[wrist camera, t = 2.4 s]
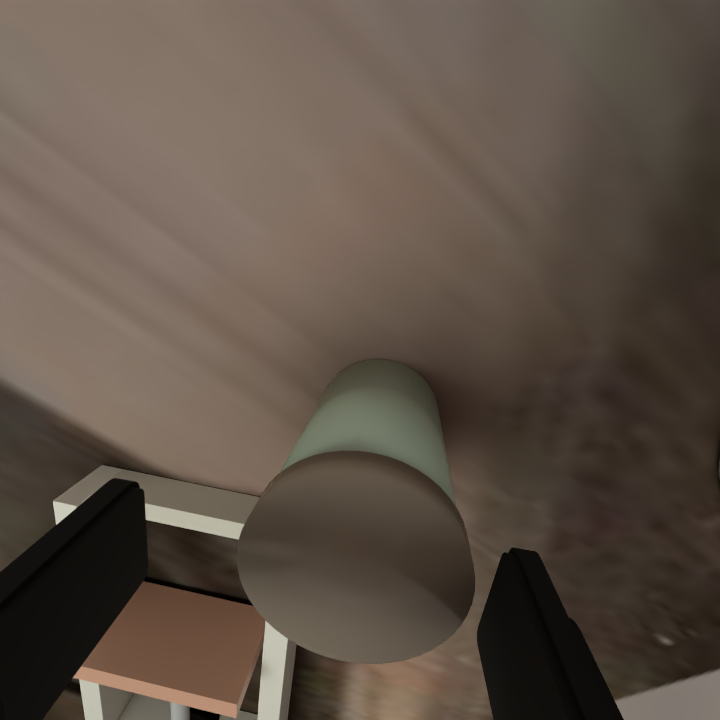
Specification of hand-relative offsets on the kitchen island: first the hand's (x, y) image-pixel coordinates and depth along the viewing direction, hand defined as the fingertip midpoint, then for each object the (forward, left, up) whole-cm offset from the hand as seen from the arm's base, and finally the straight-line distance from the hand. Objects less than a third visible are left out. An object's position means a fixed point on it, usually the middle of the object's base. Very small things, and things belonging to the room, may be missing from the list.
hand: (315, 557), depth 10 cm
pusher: (+8, +20, -8) cm, 23 cm away
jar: (-1, 0, -9) cm, 9 cm away
